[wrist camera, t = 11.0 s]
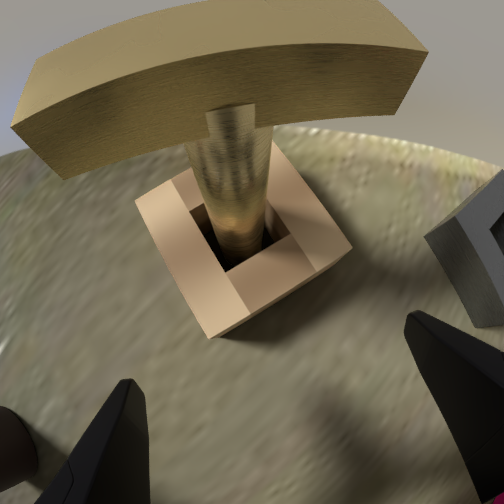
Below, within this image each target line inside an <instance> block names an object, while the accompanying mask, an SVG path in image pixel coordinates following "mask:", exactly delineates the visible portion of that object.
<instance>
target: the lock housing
mask: <svg viewBox="0 0 504 504" xmlns="http://www.w3.org/2000/svg"><path fill="white" fill-rule="evenodd" d="M424 238H425V239H426V241H427V242H428V244H429V246H430V247H431V249H432V250H433V252H434V254H435V255H436V257H437V259H438V260H439V262H440V263H441V265H442V267H443V269H444V270H445V272H446V274H447V275H448V277H449V279H450V281H451V282H452V284H453V286H454V288H455V290H456V292H457V293H458V295H459V297H460V299H461V301H462V303H463V305H464V307H465V309H466V311H467V313H468V315H469V317H470V319H471V321H472V323H473V325H474V327H475V328H479V327H488V326H497V325H504V170H503V169H502V170H501V171H499V172H498V173H497V174H496V175H495V176H493V177H492V178H491V179H490V180H488V181H487V182H486V183H484V184H483V185H482V186H481V187H479V188H478V189H477V190H475V191H474V192H473V193H472V194H471V195H470V196H469V197H468V198H467V199H466V200H465V201H464V202H463V203H461V204H460V205H459V206H458V207H457V208H456V209H455V210H454V211H453V212H451V213H450V214H449V215H448V216H447V217H446V218H445V219H444V220H442V221H441V222H440V223H439V224H438V225H437V226H435V227H434V228H433V229H432V230H431V231H430V232H428V233H427V234H426V235H425V236H424Z"/></svg>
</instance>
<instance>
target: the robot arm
mask: <svg viewBox="0 0 504 504" xmlns="http://www.w3.org/2000/svg"><path fill="white" fill-rule="evenodd" d="M404 336H405V339H406V341H407V343H408V346H409V348H410V350H411V353H412V355H413V357H414V360H415V362H416V364H417V367H418V369H419V371H420V373H421V375H422V377H423V379H424V381H425V383H426V385H427V386H428V388H429V390H430V392H431V394H432V396H433V398H434V400H435V402H436V403H437V405H438V407H439V409H440V411H441V413H442V415H443V417H444V419H445V421H446V423H447V425H448V427H449V429H450V431H451V434H452V436H453V438H454V440H455V442H456V444H457V446H458V449H459V451H460V453H461V455H462V457H463V460H464V462H465V465H466V467H467V469H468V472H469V474H470V476H471V479H472V481H473V484H474V486H475V489H476V491H477V494H478V496H479V499H480V501H481V503H482V504H483V503H485V502H487V501H489V500H491V499H493V498H495V497H497V496H498V495H500V494H502V493H504V352H501V351H500V350H498V349H497V348H495V347H493V346H491V345H489V344H487V343H485V342H483V341H481V340H479V339H477V338H475V337H473V336H471V335H469V334H467V333H465V332H463V331H461V330H459V329H457V328H455V327H453V326H451V325H449V324H447V323H445V322H443V321H441V320H439V319H437V318H435V317H433V316H431V315H429V314H427V313H425V312H423V311H420V310H416V311H413V312H411V313H409V314H408V315H407V319H406V323H405V328H404ZM34 504H151V503H150V480H149V434H148V424H147V414H146V402H145V396H144V393H143V391H142V390H141V389H140V387H139V386H138V385H137V383H136V382H135V381H134V380H133V379H122V380H120V381H119V383H118V384H117V386H116V387H115V388H114V390H113V391H112V393H111V394H110V396H109V397H108V399H107V400H106V401H105V403H104V404H103V406H102V407H101V409H100V410H99V412H98V413H97V415H96V416H95V418H94V419H93V420H92V422H91V423H90V425H89V426H88V428H87V429H86V431H85V432H84V434H83V435H82V437H81V438H80V440H79V441H78V443H77V444H76V446H75V447H74V449H73V451H72V452H71V454H70V455H69V457H68V459H67V460H66V461H65V463H64V464H63V466H62V467H61V469H60V470H59V472H58V473H57V475H56V476H55V478H54V479H53V480H52V481H51V483H50V484H49V485H48V487H47V488H46V489H45V490H44V492H43V493H42V494H41V495H40V497H39V498H38V499H37V500H36V502H35V503H34Z"/></svg>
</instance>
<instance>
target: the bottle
mask: <svg viewBox="0 0 504 504" xmlns="http://www.w3.org/2000/svg"><path fill="white" fill-rule="evenodd" d="M36 470H37V456H36V452H35V448H34V445H33V443H32V440H31V438H30V436H29V434H28V432H27V431H26V429H25V427H24V426H23V424H22V423H21V422H20V421H19V420H18V418H17V417H16V416H15V415H14V414H13V413H12V412H11V411H9V410H8V409H7V408H5V407H2V406H0V492H3V491H5V490H7V489H9V488H11V487H13V486H15V485H17V484H19V483H21V482H23V481H25V480H27V479H29V478H31V477H32V476H34V475H35V472H36Z"/></svg>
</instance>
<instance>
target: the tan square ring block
mask: <svg viewBox="0 0 504 504" xmlns="http://www.w3.org/2000/svg"><path fill="white" fill-rule="evenodd" d="M135 202H136V205H137V207H138V209H139V211H140V213H141V215H142V217H143V219H144V221H145V223H146V225H147V227H148V229H149V231H150V233H151V235H152V237H153V239H154V241H155V243H156V245H157V247H158V249H159V251H160V253H161V255H162V257H163V259H164V261H165V263H166V265H167V266H168V268H169V270H170V272H171V274H172V276H173V278H174V279H175V281H176V283H177V285H178V287H179V289H180V290H181V292H182V294H183V296H184V298H185V299H186V301H187V303H188V305H189V306H190V308H191V310H192V312H193V313H194V315H195V317H196V319H197V320H198V322H199V324H200V325H201V327H202V329H203V330H204V332H205V334H206V335H207V337H208V339H213V338H219V337H221V336H222V335H224V334H226V333H227V332H229V331H231V330H232V329H234V328H236V327H237V326H239V325H241V324H242V323H244V322H246V321H247V320H249V319H251V318H252V317H254V316H256V315H257V314H259V313H260V312H262V311H264V310H265V309H267V308H268V307H270V306H272V305H273V304H275V303H276V302H278V301H280V300H281V299H283V298H284V297H286V296H288V295H289V294H291V293H292V292H294V291H295V290H297V289H298V288H300V287H302V286H303V285H305V284H306V283H308V282H309V281H311V280H312V279H314V278H315V277H317V276H318V275H320V274H321V273H323V272H324V271H326V270H327V269H329V268H330V267H332V266H333V265H334V264H335V263H337V262H338V261H339V260H340V259H341V258H342V257H343V256H345V255H346V254H347V253H348V252H349V251H350V250H351V249H352V248H353V247H352V246H351V244H350V243H349V242H348V240H347V239H346V237H345V236H344V234H343V233H342V231H341V230H340V229H339V227H338V226H337V224H336V223H335V222H334V220H333V219H332V217H331V216H330V215H329V213H328V212H327V210H326V209H325V208H324V206H323V205H322V204H321V202H320V201H319V200H318V198H317V197H316V196H315V194H314V193H313V192H312V190H311V189H310V188H309V186H308V185H307V184H306V182H305V181H304V180H303V178H302V177H301V176H300V175H299V173H298V172H297V171H296V169H295V168H294V167H293V166H292V164H291V163H290V162H289V161H288V159H287V158H286V157H285V156H284V154H283V153H282V152H281V151H280V149H279V148H278V147H277V146H276V144H275V143H274V142H273V141H272V148H271V158H270V169H269V179H268V189H267V200H266V210H265V220H264V227H265V228H266V230H267V231H268V233H269V234H270V236H271V237H272V239H273V240H274V242H275V243H274V244H273V245H271V246H269V247H268V248H266V249H264V250H263V251H261V252H259V253H258V254H256V255H254V256H253V257H251V258H249V259H248V260H246V261H244V262H243V263H241V264H239V265H238V266H236V267H234V268H233V269H231V270H229V271H228V272H226V273H225V272H224V270H223V268H222V267H221V265H220V263H219V262H218V260H217V258H216V257H215V255H214V253H213V252H212V250H211V248H210V247H209V245H208V243H207V241H206V240H205V238H204V236H203V235H205V234H207V233H209V232H210V231H212V230H214V229H213V227H212V224H211V221H210V218H209V215H208V213H207V210H206V207H205V204H204V201H203V199H202V196H201V193H200V190H199V187H198V184H197V181H196V179H195V176H194V173H193V170H192V167H191V168H189V169H188V170H186V171H184V172H182V173H180V174H179V175H177V176H175V177H173V178H172V179H170V180H168V181H166V182H165V183H163V184H161V185H160V186H158V187H156V188H155V189H153V190H151V191H150V192H148V193H146V194H145V195H143V196H141V197H140V198H138V199H137V200H135Z"/></svg>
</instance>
